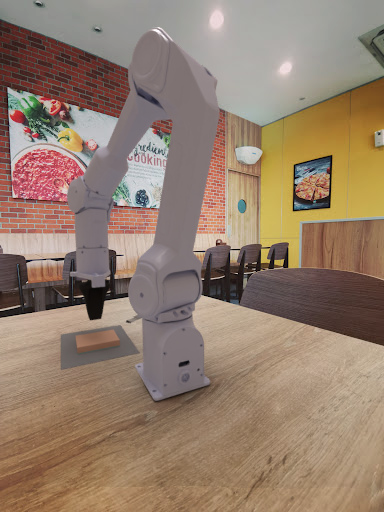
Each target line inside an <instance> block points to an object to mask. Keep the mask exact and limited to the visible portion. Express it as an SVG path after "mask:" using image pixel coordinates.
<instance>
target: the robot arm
mask: <svg viewBox="0 0 384 512" xmlns="http://www.w3.org/2000/svg"><path fill="white" fill-rule="evenodd" d="M127 70H128V71H127V72H128V73H127V76H128V77H127V78H128V79H127V80H128V87H129V89H130V91H129V93H128V96H127V98H126V100H125V103H124V105H123V107H122V110H121V113H120V114H119V117H118V119H117V121H116V124H115V126H114V129H113V131H112V133H111V136H110V139H109V141H108V143H107V145H104V146H100V147H98V148H96V149H95V152H94V154H93V156H92V158H91V160H90V161H89V164H88V165H87V167H86V169H85V171H84V173H83V175H79V176H77V178H75V179H73V180H71V181H70V183H69V185H68V188H67V192H66V201H67V205H68V209H69V210H70V212H72V213H73V214H74V234H75V235H74V236H75V256H76V257H75V258H76V259H75V260H76V262H75V263H76V271H70V272H69V276H70V277H77V278H79V279H86V281H82V282H81V281H79V282H77V283H76V284H77V287H78V289H79V290H80V292H81V295H82V296H83V299H84V304H85V309H86V313H87V316H88V319H89V321H96V320H101V319H102V317H103V314H104V313H103V312H104V306H105V302H106V297H107V294H108V292H109V289H110V288H111V284H112V283H111V282H110V280H108V279H106V278H107V277H109V276H110V275H111V270H110V255H109V252H110V251H109V231H108V230H109V228H108V227H109V225H108V224H110V222H111V213H112V210H113V208H114V202H115V201H114V200H115V199H114V197H113V195H114V193H115V192H116V190H117V189H118V187H119V186H120V184H121V182H122V181H123V180H124V177H125V176H126V174H127V172H128V171H129V162H128V157H129V156H130V155H131V153H132V152H133V151H134V149H135V148H136V146H137V145H139V142H140V141H141V140H142V139H143V137H144V136H145V135H146V133H147V132H148V130H149V129H150V128H151V126H152V125H153V123H154V122H156V121H166V120H171V122H172V123H171V124H172V127H171V132H170V136H169V137H170V139H169V144H168V150H167V157H166V162H165V163H166V164H165V169H164V170H165V171H164V176H163V183H162V189H161V193H160V194H161V195H160V200H159V207H158V208H159V209H158V214H157V220H156V226H155V232H154V239H153V244H152V245H151V246H150V248H149V247H148V249H147V250H146V251H145V252H143V254H142V255H141V256H140V257H139V258H138V259H137V262H136V267H135V271H134V273H133V275H132V277H131V279H130V281H129V284H128V289H127V290H128V291H127V292H128V300H129V303H130V304H129V305H130V306H131V308H132V309H133V311H134V312H135V314H136V315H138V317H139V318H141V324H142V325H141V326H142V327H141V328H142V329H141V330H142V362H140V363H137V364H135V365H134V368H135V370H136V372H137V374H138V375H139V377H140V378H141V379H142V382H143V384H144V385H145V388H146V389H147V391H148V393H149V394H150V396H151V398H152V400H154V401H156V402H157V401H161V400H164V399H167V398H170V397H174V396H177V395H180V394H183V393H184V394H185V393H186V392H190V391H194V390H196V389H200V388H202V387H206V386H209V385H210V384H211V380H210V379H209V377H207V376H206V374H205V342H204V341H205V339H204V337H203V335H202V333H201V332H200V331H199V329H197V327H196V325H195V323H194V320H193V319H194V318H193V312H194V311H195V310H196V303H197V302H198V301H200V299H201V297H202V294H203V286H204V285H203V280H202V268H203V263H202V260H200V259H199V257H197V255H196V254H195V253H194V246H195V242H196V238H197V233H198V232H197V231H198V228H199V224H200V223H199V222H200V217H201V213H202V208H203V202H204V198H205V197H204V196H205V191H206V187H207V182H208V177H209V171H210V167H211V163H212V162H211V160H212V156H213V150H214V145H215V142H216V141H215V140H216V137H217V136H216V135H217V129H218V125H219V120H220V112H221V111H220V106H219V101H218V98H217V97H218V96H217V93H216V92H217V85H218V79H217V78H216V77H215V76H214V74H213V73H211V72H210V70H209V69H208V68H207V67H206V66H204V65H203V64H201V63H200V62H198V61H197V60H196V59H195V58H194V57H193V56H192V55H190V54H189V53H188V51H186V50H185V49H183V48H182V47H181V46H180V45H179V44H178V43H176V42H175V40H174V39H173V38H172V37H171V36H170V35H169V34H168V32H166V31H165V30H164V29H163V28H162V27H156V26H155V27H151V28H150V29H148V30H147V31H146V32H145V33H143V34H142V35H141V36H140V38H139V39H138V41H137V42H136V45H135V47H134V49H133V53H132V57H131V62H130V63H129V65H128V69H127Z"/></svg>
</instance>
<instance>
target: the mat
mask: <svg viewBox="0 0 384 512" xmlns="http://www.w3.org/2000/svg"><path fill="white" fill-rule="evenodd" d="M108 330H114V331H115V333H116V335H117V336H118V338H119V340H120V346H119V347H114V348H109V349H104V350H99V351H93V352H88V353H83V354H77V348H76V338H75V336H77V335H83V334H89V333H95V332H101V331H108ZM140 353H141V352H140V351H139V349H138V347H136V345H135V344H134V341H132V339H131V338H130V336H129V335H128V334H127V332H126V331H125V330H124V328H123V326H122V325H121V324H118V325H111V326H104V327H100V328H93V329H92V328H91V329H88V330H86V329H85V330H82V331H81V330H79V331H74V332H73V331H72V332H68V333H63V334H62V333H61V334H60V370H61V371H62V370H68V369H72V368H77V367H82V366H86V365H90V364H96V363H100V362H105V361H109V360H114V359H118V358H123V357H128V356H132V355H137V354H140Z"/></svg>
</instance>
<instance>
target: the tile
mask: <svg viewBox="0 0 384 512" xmlns="http://www.w3.org/2000/svg"><path fill="white" fill-rule="evenodd" d="M75 338H76V348H77V354H83V353H88V352H93V351H99V350H104V349H109V348H114V347H119V346H120V340H119V338H118V336H117V335H116V333H115V331H114V330H108V331H101V332H95V333H89V334H83V335H77V336H75Z"/></svg>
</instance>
